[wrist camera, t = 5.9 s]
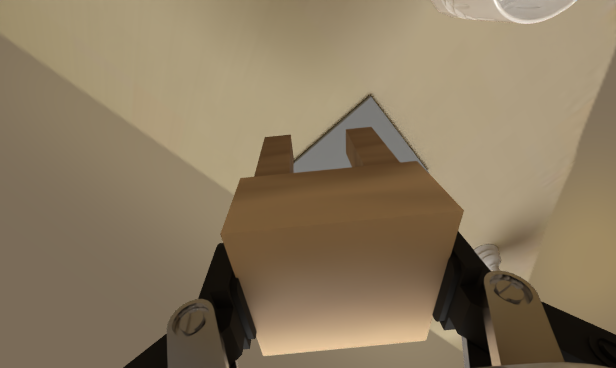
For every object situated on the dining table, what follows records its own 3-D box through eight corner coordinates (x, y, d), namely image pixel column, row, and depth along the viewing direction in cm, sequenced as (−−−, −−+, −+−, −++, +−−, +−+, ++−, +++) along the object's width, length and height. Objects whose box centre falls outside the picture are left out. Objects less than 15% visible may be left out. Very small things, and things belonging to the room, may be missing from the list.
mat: (284, 169, 34) (284, 171, 34) (369, 95, 30) (371, 96, 29) (348, 225, 40) (349, 227, 40) (427, 170, 35) (429, 173, 35)
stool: (257, 131, 14) (220, 234, 7) (378, 119, 14) (463, 210, 7) (275, 224, 17) (263, 355, 10) (372, 215, 17) (425, 340, 10)
